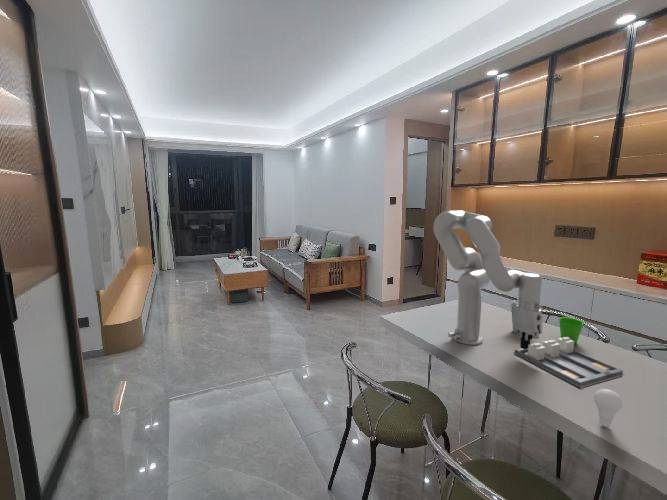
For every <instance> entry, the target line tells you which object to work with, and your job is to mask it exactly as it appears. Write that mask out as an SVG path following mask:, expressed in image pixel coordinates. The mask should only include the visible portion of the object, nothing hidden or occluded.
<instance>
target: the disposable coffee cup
mask: <svg viewBox="0 0 667 500" xmlns="http://www.w3.org/2000/svg"><path fill="white" fill-rule="evenodd" d="M517 305H518V299H517V300H512V302H511V303H510V307H511V323H512V331H513V333H515V334H516V335H517V334H518V335H519V333H518V332H517V331H516V330H514V326H513V318H514V312H515V309H516V306H517Z"/></svg>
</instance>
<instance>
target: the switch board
mask: <svg viewBox="0 0 667 500" xmlns="http://www.w3.org/2000/svg"><path fill="white" fill-rule="evenodd" d="M540 344H541V346H543V343H540ZM513 355H514V356H515V357H516V358H519V359H521V360H522V361H524V362H527V363H529V364H531V365H532V366H534V367H536V368H538V369H540V370H541V371H544V372H546V373H548V374H549V375H551V376H553V377H555V378H557V379H559V380H561V381H563V382H565V383H567V384H569V385H570V386H573V388H574V387H575V388H576V389H578V390H582V389H586V388H589V387H592V386H595V385H601V384H602V383H606V382H610V381H612V380H617V379H620V378H622V377H623V375H622V374H623V372H624V371H623V370H622V369H620V368H618V367H615V366H613V365H611V364H608V363H606V362H603V361H601V360H600V359H596V358H595V357H591V356H589V355H587V354H585V353H582V352H580V351H577V350H575V349H573V352H572V353H568V354H567V353H565V352H563V351H561V350H559V356H555V357H552V356H550V355H548V354H546V353H545V355H544V359H542V360H536V359H534V358H532V357H530V356H528V349H523V348H516V349H514V354H513ZM618 375H620V376H618ZM613 376H617V377H613ZM611 377H613V378H611ZM607 378H609V379H607ZM603 379H606V380H603ZM601 380H603V381H601ZM596 381H597V382H596ZM598 381H599V382H598ZM594 382H595V383H594ZM589 383H592V384H589ZM586 384H589V385H586ZM582 385H586V386H582Z"/></svg>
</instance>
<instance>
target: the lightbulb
mask: <svg viewBox="0 0 667 500" xmlns="http://www.w3.org/2000/svg"><path fill="white" fill-rule="evenodd" d="M593 398H594V403H595V405H596V406H597V409H598V416H599V418H598V419H599V420H598V423H599V425H601V426H602V427H603V428H610V427H611V425H612V421H613V419H614V417H615V415H616V414H617V413H618V412H620V410H622V408H623V400H622V397H621V396H620V395H619V394H618V393H617V392H615V391H614V390H612V389H610V388H609V389H608V388H601V389H599V390H597V391H596V392H595V393H594V397H593Z"/></svg>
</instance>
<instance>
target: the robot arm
mask: <svg viewBox="0 0 667 500" xmlns="http://www.w3.org/2000/svg"><path fill="white" fill-rule="evenodd" d="M492 228H493V223H492V220H491V219H490V218H489V217H488V216H486V215H483V214H478V213H473V212H470V211H466V210H461V209H455V210H445V211H443V212H441V213H439V215H437V216H436V218H435V219H434V222H433V233H434V235H435V238H436V240H437V241H438V243H439V245H440V247H441V249H442V250H443V253H444V254H445V258H447V260H448V262H449V264H450V266H451V268H452V269H454V270H455V271H464V273H462V274H461V275H460V276H459V278H458V281H457V289H458V291H457V292H458V304H457V307H458V308H457V321H456V322H457V323H456V328H455V329H454V331H452V332H448V333H447V336H448V337H449V338H452V339H453V340H455V341H456V342H458V343H461V344H464V345H469V346H470V345H471V346H476V345H480V344H482V343H483V341H484V340H483V339H484V337H482V336H481V335H480V331H481V329H480V328H481V317H482V316H481V315H482V293H481V291H482V290H483V289H484V288H486V287H487V286H489V283H490V282H491V283H492V284H493V286H494V287H495V289H497V290H498V291H500V292H505V293H506V292H510V291H513V290H515V289H518V297H517V300H518V305H517V306H516V309H515V312H514V318H513V325H512V327H513V326H514V330H516V331H517V332H518V333H519V334H518V335H519V338H520V346H519V347H520V348H523V349H528V345H529V344H531V340H533V339H534V340H538V339H540V335H541V334H543V313H542V310H541V309H542V308H543V307H542V305H541V294H542V284H543V283H542V276H541V275H540V274H537V273H533V272H532V273H531V272H522V271H519V270H515V269H508V270H507V269H506V268H505V265H504V264H503V262H502V259H501V244H500V242H499V241H498V240H497V238H496V236H495V235H494V234H493V232H492V231H491V230H492ZM456 229H461V230H464V231H465V232H466V234H467V235H468V237H469V238H470V240H471V241H472V244H473V245H474V246H475V248H476V250H477V251H476V250H475V249H474V248H472V247H467V246H466V247H465V246H464V245H463V243H462V241H461V239H460V238H459V236H458V235H457V234H456V233H455V232H454V230H456Z"/></svg>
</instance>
